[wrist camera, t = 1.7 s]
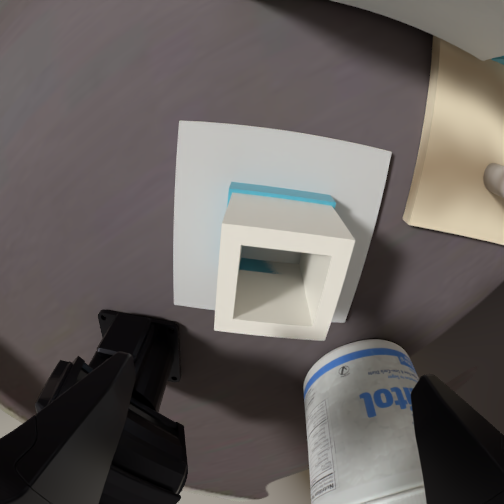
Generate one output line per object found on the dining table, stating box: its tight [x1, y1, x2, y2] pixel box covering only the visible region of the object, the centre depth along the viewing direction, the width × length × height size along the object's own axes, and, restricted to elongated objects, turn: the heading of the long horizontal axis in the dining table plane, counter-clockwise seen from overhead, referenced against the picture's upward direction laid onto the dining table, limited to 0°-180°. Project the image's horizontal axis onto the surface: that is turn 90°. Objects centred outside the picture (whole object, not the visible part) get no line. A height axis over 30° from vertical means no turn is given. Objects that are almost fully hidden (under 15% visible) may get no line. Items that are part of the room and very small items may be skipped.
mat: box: [173, 120, 392, 323], centre depth 18 cm, size 12×12×1 cm
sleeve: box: [214, 182, 355, 341], centre depth 15 cm, size 6×6×6 cm
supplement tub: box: [303, 339, 427, 504], centre depth 17 cm, size 10×10×15 cm
